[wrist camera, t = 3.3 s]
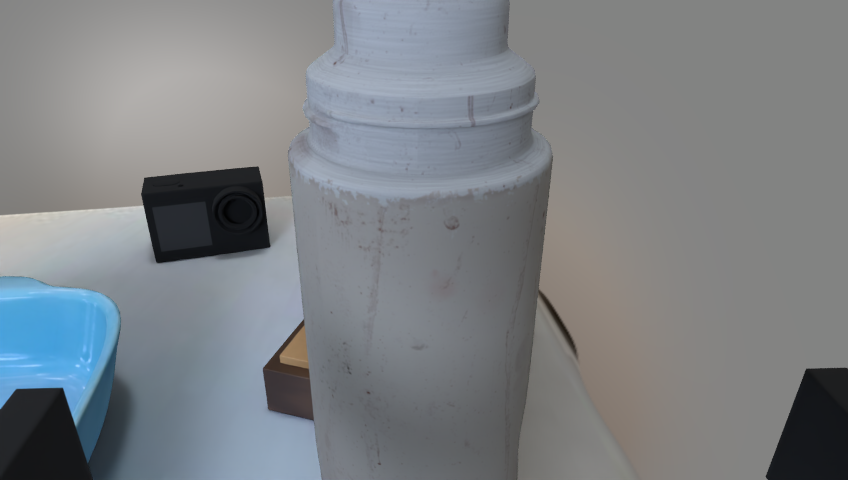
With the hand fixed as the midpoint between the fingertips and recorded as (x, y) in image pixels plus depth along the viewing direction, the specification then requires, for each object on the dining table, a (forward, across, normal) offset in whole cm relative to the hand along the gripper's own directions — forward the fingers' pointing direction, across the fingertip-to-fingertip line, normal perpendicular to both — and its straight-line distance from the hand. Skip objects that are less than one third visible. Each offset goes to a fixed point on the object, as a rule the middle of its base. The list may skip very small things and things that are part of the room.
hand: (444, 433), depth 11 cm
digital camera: (+45, -18, -20) cm, 52 cm away
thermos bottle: (+10, 0, -20) cm, 22 cm away
